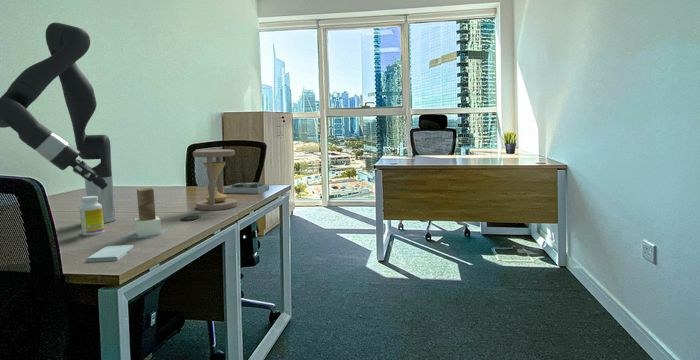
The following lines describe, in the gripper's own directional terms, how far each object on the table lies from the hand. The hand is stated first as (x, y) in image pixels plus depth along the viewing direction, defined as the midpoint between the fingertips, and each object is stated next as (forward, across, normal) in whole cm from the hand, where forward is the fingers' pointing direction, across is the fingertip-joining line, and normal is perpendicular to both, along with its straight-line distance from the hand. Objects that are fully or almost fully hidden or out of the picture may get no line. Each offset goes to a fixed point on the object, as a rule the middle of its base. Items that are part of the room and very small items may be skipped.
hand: (104, 185), depth 143 cm
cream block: (+21, -1, +4) cm, 21 cm away
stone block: (+65, +69, -36) cm, 101 cm away
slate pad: (+21, -1, +5) cm, 21 cm away
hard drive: (+12, -20, +14) cm, 27 cm away
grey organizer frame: (+65, +72, -37) cm, 103 cm away
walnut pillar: (+17, -1, +1) cm, 17 cm away
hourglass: (+46, +36, -18) cm, 61 cm away
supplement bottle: (+10, +12, +16) cm, 22 cm away
